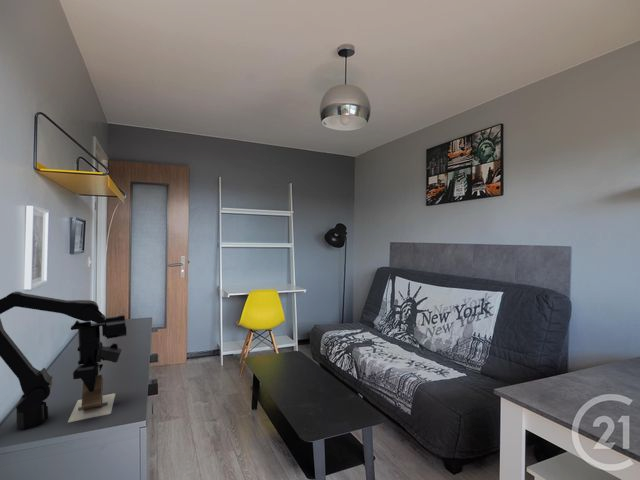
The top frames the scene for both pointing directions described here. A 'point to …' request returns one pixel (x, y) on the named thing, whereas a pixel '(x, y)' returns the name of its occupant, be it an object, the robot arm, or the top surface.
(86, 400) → the walnut block
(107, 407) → the mat
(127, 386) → the top surface
